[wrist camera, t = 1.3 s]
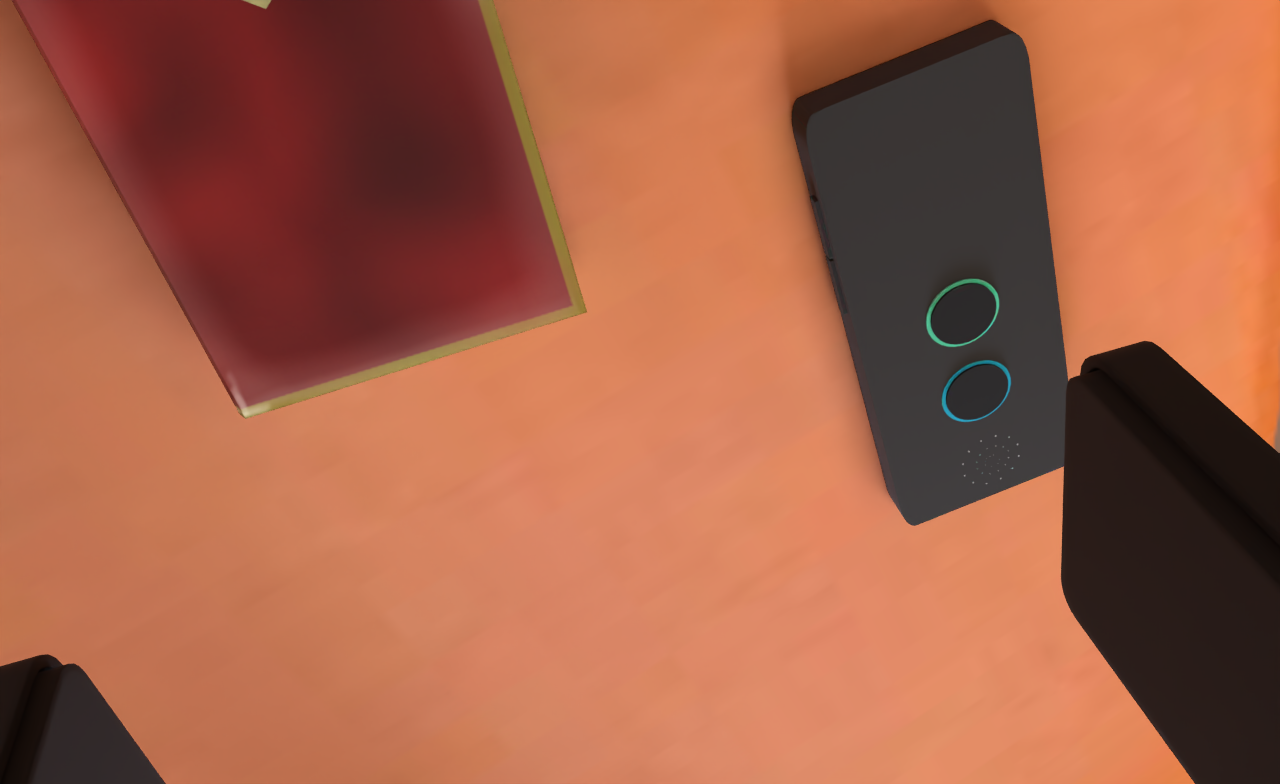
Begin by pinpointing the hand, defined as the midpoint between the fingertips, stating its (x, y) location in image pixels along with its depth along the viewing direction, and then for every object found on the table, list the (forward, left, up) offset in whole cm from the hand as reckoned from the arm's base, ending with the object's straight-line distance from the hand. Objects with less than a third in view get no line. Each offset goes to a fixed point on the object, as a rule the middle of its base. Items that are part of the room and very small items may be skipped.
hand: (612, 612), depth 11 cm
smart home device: (+21, -10, -29) cm, 37 cm away
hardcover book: (-4, -3, -29) cm, 29 cm away
